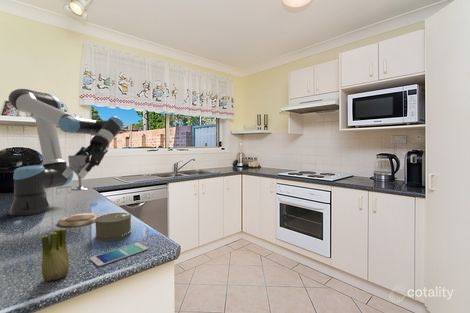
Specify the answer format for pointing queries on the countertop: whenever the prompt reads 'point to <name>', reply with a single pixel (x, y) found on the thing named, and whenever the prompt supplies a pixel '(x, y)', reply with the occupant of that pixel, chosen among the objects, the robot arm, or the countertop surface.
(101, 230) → the can
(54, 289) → the countertop surface
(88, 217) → the trivet
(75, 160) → the wine glass
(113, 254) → the smartphone
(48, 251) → the fennel bulb
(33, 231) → the countertop surface
